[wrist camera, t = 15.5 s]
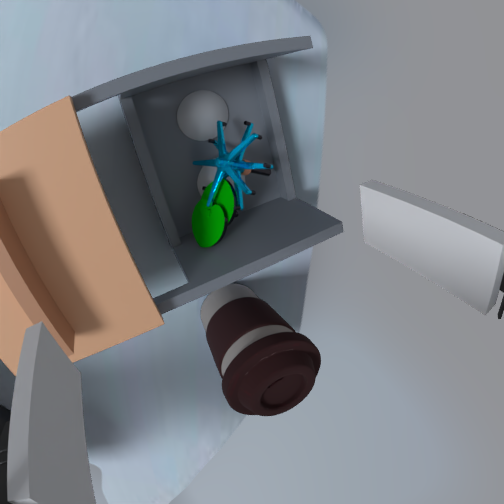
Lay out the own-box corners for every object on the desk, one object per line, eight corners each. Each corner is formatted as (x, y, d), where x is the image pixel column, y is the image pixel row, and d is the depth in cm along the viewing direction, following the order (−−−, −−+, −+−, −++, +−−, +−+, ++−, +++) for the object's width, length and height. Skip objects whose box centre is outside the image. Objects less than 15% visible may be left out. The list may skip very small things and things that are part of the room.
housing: (31, 310, 29) (15, 375, 20) (-39, 173, 21) (-91, 202, 12) (286, 200, 37) (343, 231, 28) (253, 53, 28) (310, 35, 20)
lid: (23, 374, 20) (18, 405, 18) (-86, 197, 12) (-110, 212, 9) (162, 316, 24) (171, 345, 21) (71, 96, 15) (62, 92, 12)
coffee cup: (259, 332, 44) (316, 410, 31) (188, 344, 40) (230, 436, 27) (268, 268, 40) (341, 341, 27) (189, 275, 36) (237, 366, 23)
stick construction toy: (204, 108, 27) (266, 126, 23) (255, 125, 32) (314, 146, 28) (167, 227, 31) (216, 268, 27) (218, 227, 36) (268, 261, 32)
